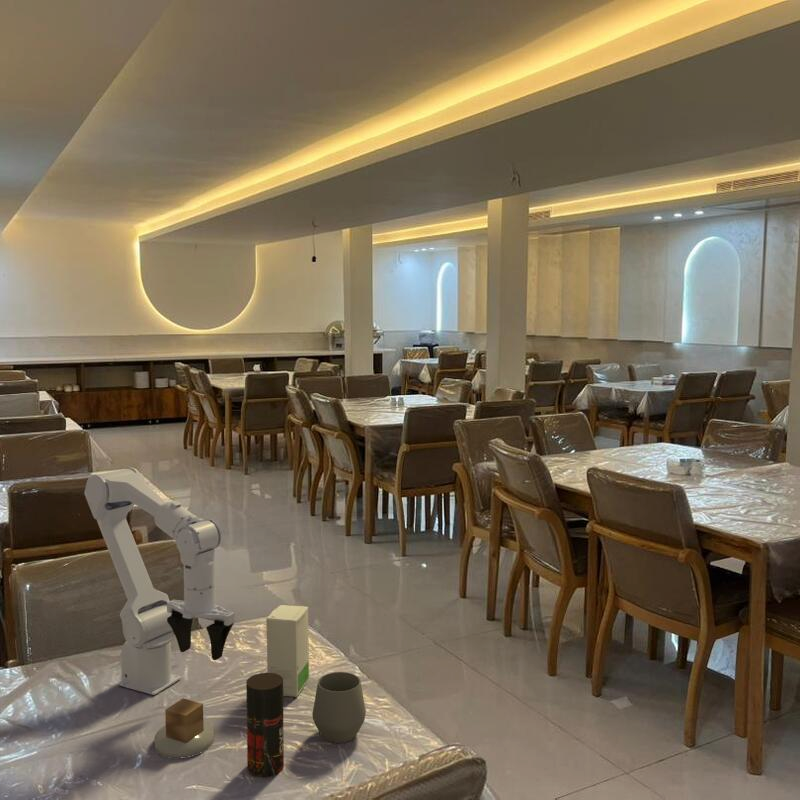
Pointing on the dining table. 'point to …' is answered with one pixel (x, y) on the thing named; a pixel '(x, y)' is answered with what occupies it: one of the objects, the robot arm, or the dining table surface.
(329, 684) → the cup
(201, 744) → the khaki round plate
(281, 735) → the deodorant
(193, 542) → the robot arm
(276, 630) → the skincare box
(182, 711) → the walnut block
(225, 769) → the dining table surface
